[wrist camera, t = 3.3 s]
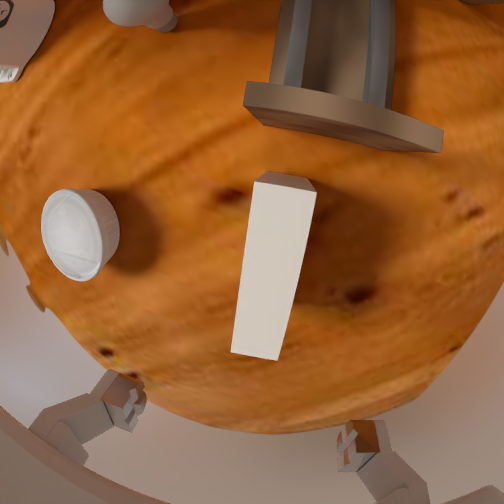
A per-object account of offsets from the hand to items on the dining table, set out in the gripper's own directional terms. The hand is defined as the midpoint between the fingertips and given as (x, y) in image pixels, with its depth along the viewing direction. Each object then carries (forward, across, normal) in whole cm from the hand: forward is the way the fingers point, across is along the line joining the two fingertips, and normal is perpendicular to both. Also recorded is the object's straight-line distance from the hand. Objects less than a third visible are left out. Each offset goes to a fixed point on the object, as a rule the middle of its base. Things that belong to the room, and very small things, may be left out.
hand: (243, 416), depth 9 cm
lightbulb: (+21, +15, -23) cm, 35 cm away
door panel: (+21, 0, 0) cm, 21 cm away
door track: (+21, -3, -22) cm, 31 cm away
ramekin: (+22, +23, +2) cm, 32 cm away
